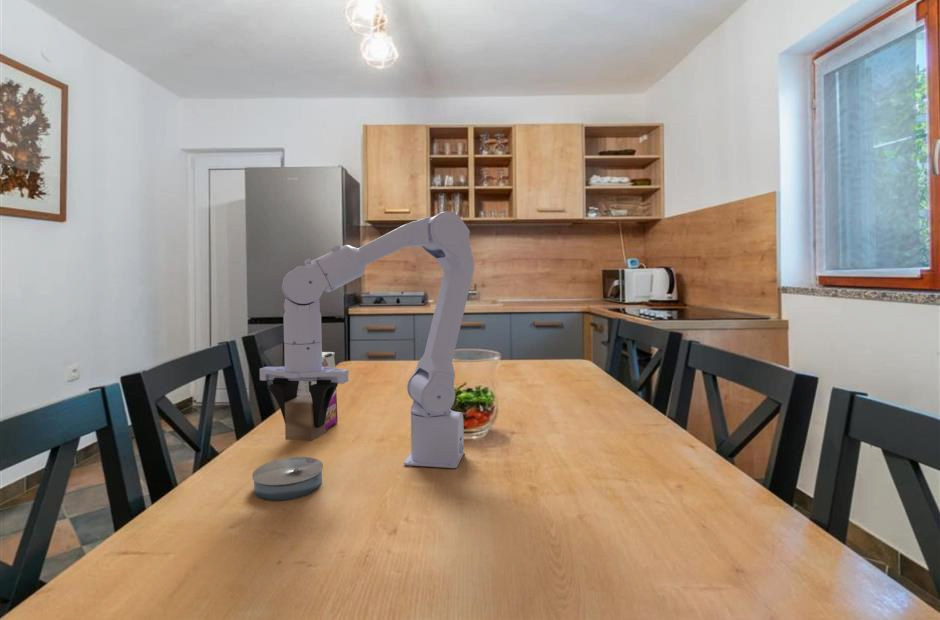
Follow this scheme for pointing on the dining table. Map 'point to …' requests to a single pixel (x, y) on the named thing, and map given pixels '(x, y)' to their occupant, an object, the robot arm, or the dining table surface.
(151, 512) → the dining table surface
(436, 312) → the robot arm
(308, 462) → the biscuit tin
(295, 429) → the walnut block
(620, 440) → the dining table surface
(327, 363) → the candy bar box
